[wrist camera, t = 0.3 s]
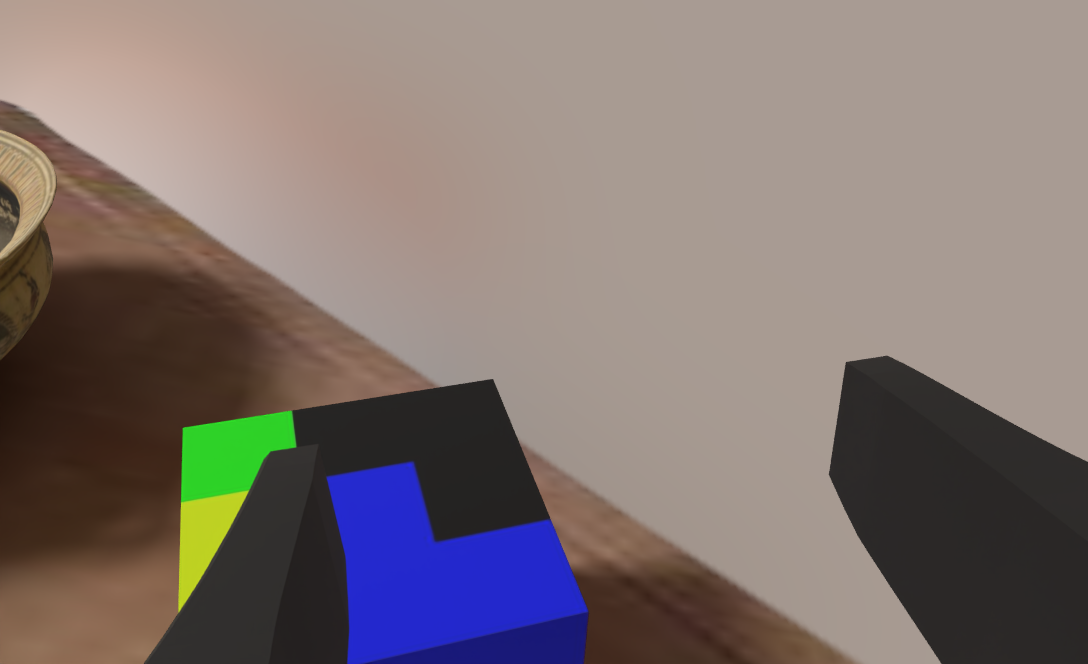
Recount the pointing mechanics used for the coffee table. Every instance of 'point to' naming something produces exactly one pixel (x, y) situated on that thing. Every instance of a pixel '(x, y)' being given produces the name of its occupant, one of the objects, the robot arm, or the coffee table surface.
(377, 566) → the puzzle toy
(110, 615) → the coffee table surface
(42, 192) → the ceramic bowl
